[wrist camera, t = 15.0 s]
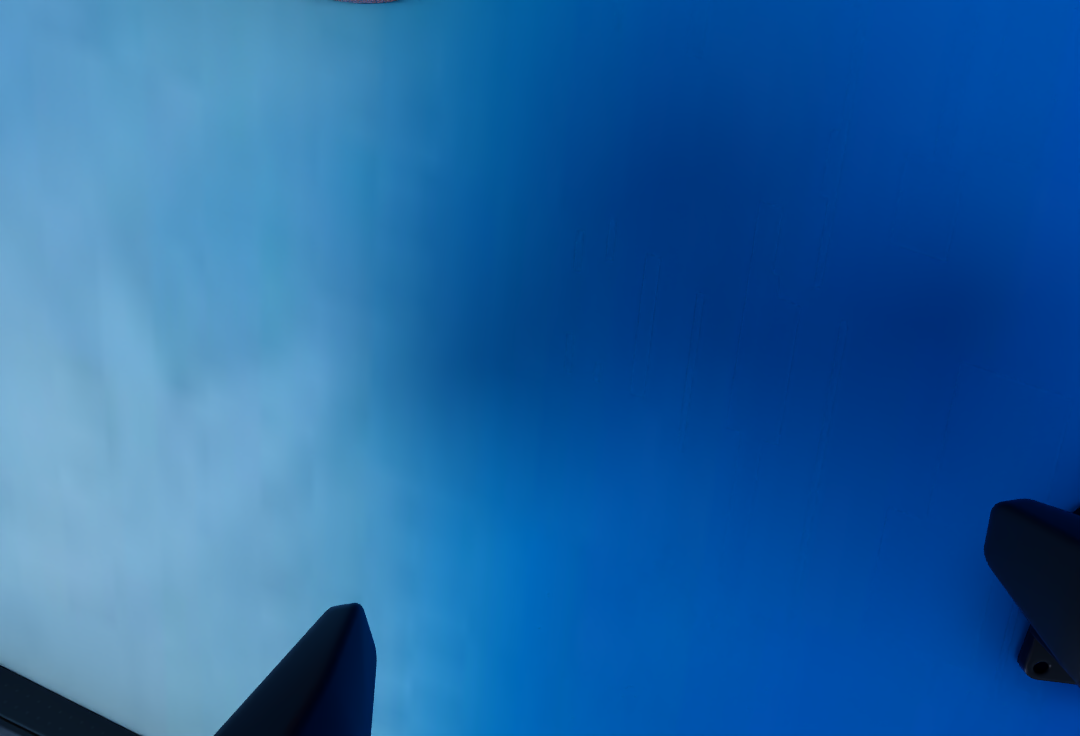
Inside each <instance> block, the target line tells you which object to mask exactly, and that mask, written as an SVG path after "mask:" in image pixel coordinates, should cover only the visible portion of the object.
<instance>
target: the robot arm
mask: <svg viewBox="0 0 1080 736" xmlns="http://www.w3.org/2000/svg"><path fill="white" fill-rule="evenodd" d="M984 555H985V558H986V561H987V563H988V565H989V567H990V568H991V570H992V571H993V572H994V574H995V575H996V577H997V578H998V579H999V581H1000V582H1001V583H1002V585H1003V586H1004V588H1005V589H1006V590H1007V592H1008V593H1009V595H1010V596H1011V597H1012V599H1013V600H1014V601H1015V603H1016V604H1017V606H1018V607H1019V608H1020V610H1021V611H1022V612H1023V614H1024V615H1025V617H1026V618H1027V619H1028V621H1029V622H1030V623H1031V624H1030V627H1029V630H1028V632H1027V635H1026V638H1025V640H1024V643H1023V645H1022V648H1021V651H1020V653H1019V656H1018V663H1019V666H1020V667H1021V668H1022V669H1023V670H1024V672H1025V673H1026V674H1027V675H1028V676H1029V677H1031V678H1033V679H1037V680H1044V681H1053V682H1061V683H1069V684H1077V685H1078V686H1079V687H1080V508H1078V509H1077V510H1076V511H1074V513H1070V512H1067V511H1064V510H1061V509H1058V508H1055V507H1052V506H1049V505H1046V504H1043V503H1040V502H1037V501H1034V500H1031V499H1016V500H1010V501H1003V502H999V503H997V504H995V506H994V507H993V508H992V510H991V514H990V519H989V524H988V529H987V534H986V540H985V545H984ZM376 662H377V660H376V648H375V644H374V641H373V638H372V634H371V631H370V628H369V625H368V622H367V618H366V615H365V612H364V609H363V608H362V606H361V605H360V604H358V603H351V604H344V605H338V606H333V607H331V608H329V609H328V610H327V611H326V612H325V613H324V614H323V615H322V616H321V617H320V618H319V619H318V620H317V622H316V623H315V624H314V625H313V626H312V627H311V628H310V629H309V630H308V632H307V633H306V634H305V635H304V636H303V637H302V638H301V639H300V640H299V642H298V643H297V644H296V645H295V646H294V647H293V648H292V649H291V650H290V652H289V653H288V654H287V655H286V656H285V657H284V658H283V659H282V660H281V662H280V663H279V664H278V665H277V666H276V667H275V668H274V669H273V670H272V671H271V673H270V674H269V675H268V676H267V677H266V678H265V679H264V680H263V681H262V683H261V684H260V685H259V686H258V687H257V688H256V689H255V690H254V691H253V693H252V694H251V695H250V696H249V697H248V698H247V699H246V700H245V701H244V703H243V704H242V705H241V706H240V707H239V708H238V709H237V710H236V711H235V713H234V714H233V715H232V716H231V717H230V718H229V719H228V720H227V721H226V723H225V724H224V725H223V726H222V727H221V728H220V729H219V730H218V731H217V733H216V734H215V735H214V736H371V727H372V714H373V701H374V689H375V676H376ZM1038 662H1039V663H1038ZM1036 663H1038V664H1036ZM1035 664H1036V665H1035Z"/></svg>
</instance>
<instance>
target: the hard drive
mask: <svg viewBox="0 0 1080 736" xmlns="http://www.w3.org/2000/svg"><path fill="white" fill-rule="evenodd" d="M0 736H138V735H136V734H134V733H132V732H130V731H128V730H126V729H124V728H122V727H120V726H118V725H116V724H114V723H112V722H110V721H108V720H106V719H104V718H102V717H100V716H98V715H96V714H94V713H92V712H90V711H88V710H86V709H84V708H82V707H80V706H78V705H76V704H74V703H72V702H70V701H68V700H66V699H64V698H62V697H60V696H59V695H57V694H55V693H53V692H51V691H49V690H47V689H45V688H43V687H41V686H39V685H37V684H35V683H33V682H31V681H29V680H27V679H25V678H23V677H21V676H19V675H17V674H15V673H13V672H11V671H9V670H7V669H5V668H3V667H1V666H0Z"/></svg>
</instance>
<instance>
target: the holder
mask: <svg viewBox="0 0 1080 736" xmlns="http://www.w3.org/2000/svg"><path fill="white" fill-rule="evenodd" d="M336 1H344V2H353V3H383V2H391V1H396V0H336Z"/></svg>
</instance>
